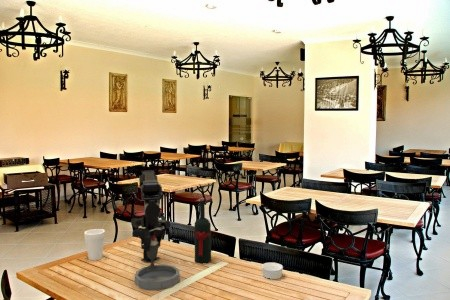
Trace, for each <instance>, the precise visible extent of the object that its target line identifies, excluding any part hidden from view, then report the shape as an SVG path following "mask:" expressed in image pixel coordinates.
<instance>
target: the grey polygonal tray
mask: <svg viewBox="0 0 450 300" xmlns="http://www.w3.org/2000/svg"><path fill="white" fill-rule="evenodd" d="M155 265H156V266H158V268H157V269H152V270H151V269H147V268H146V267H147V266H144V267H141V268H140V269H138V270H136V271H135V273H134V284H135V285H136V286H137V287H138V288H139V289H143V290H148V291H152V290H153V291H157V290H165V289H168V288H172V287H174V286H175V285H177V284H178V283H179V282H180V276H181V275H180V269H179V268H178V267H176V266H175V265H170V264H155Z"/></svg>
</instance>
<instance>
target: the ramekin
mask: <svg viewBox="0 0 450 300" xmlns="http://www.w3.org/2000/svg"><path fill="white" fill-rule="evenodd" d="M261 269H262V277H263V278H265V277H266V278H265V279H267V278H270V279H269V280H272V279H274V280H278V279H277V278H279V279H281V278H282V275H283V269H284V266H283V265H282V264H281V263H277V262H265V263H263V264H262V265H261ZM280 277H281V278H280Z"/></svg>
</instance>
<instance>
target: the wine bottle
mask: <svg viewBox="0 0 450 300" xmlns="http://www.w3.org/2000/svg"><path fill="white" fill-rule="evenodd" d="M205 206H206V205H205V197H200V198H199V218H197V219H196V220H195V222H194V263H195V264H196V263H197V264H198V265H199V264H201V265H203V263H206V264H210V263H211V262H212V239H211V238H212V236H211V235H212V231H211V228H212V227H211V226H212V225H211V221H210V220H209V219H208V218H207V217H205V215H206V213H205V212H206V211H205V209H206V208H205ZM210 261H211V262H210ZM209 262H210V263H209Z"/></svg>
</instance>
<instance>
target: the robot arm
mask: <svg viewBox="0 0 450 300" xmlns="http://www.w3.org/2000/svg"><path fill="white" fill-rule="evenodd" d="M138 179H139V181H138V183H139V185H138V186H139V188H140V191H141V200H142V201H143V202H144V204H143V205H144V214H142V215H141V217H140V218H137V217H135V218H132V219H131V221H130V225H131V226H132V227H133V228H134V229H133V230H132V232H131V236H132V238H136V239H137V238H139V239H140V248H141V250H142V254H143V258H141V259H140V260H141V262H146V263H151V259H149V258H148V256H147V251H149V249H150V244H151V239H152V236H153V235H154V236H155V238H156V239H157V241H158V242H159V243H160V245H159V247H158V249H159V248H160V247H161V242H162V240H163V237H164V235H165V233H166V231H167V230H168V229H169V228H171V222H170V220H166V219H160V217H161V216H162V214H161V207H160V204H159V201H160V200H162V198H163V187H162V185H161V184H160V183H159V181H158V175H156V173H155V171H154V170H144V171H143V172H142V174H141V175H139V177H138ZM154 233H155V234H154ZM160 259H161V258H160V257H159V256H157V257H156V258H155V259H154V262H155V261H158V260H160Z"/></svg>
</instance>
